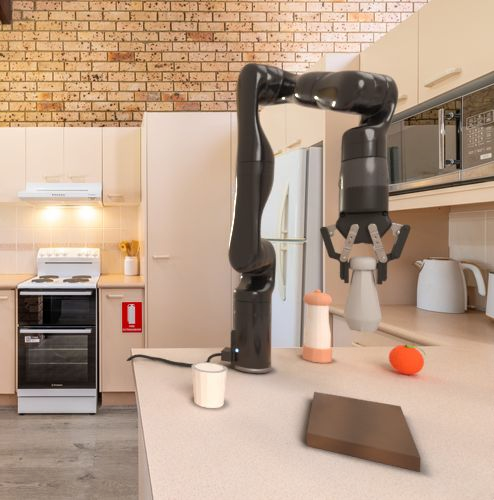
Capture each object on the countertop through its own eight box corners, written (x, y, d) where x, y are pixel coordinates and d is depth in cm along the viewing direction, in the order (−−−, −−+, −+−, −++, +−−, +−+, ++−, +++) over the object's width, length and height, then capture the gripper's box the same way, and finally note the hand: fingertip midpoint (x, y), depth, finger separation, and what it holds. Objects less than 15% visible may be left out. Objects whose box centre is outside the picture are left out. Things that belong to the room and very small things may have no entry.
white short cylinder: (227, 398, 79) (228, 363, 79) (225, 411, 72) (225, 374, 72) (193, 393, 81) (194, 360, 81) (188, 406, 75) (188, 369, 75)
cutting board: (306, 445, 60) (306, 432, 60) (314, 401, 78) (314, 391, 78) (420, 471, 53) (420, 457, 53) (400, 417, 71) (400, 406, 71)
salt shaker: (388, 334, 66) (388, 257, 66) (350, 332, 67) (351, 256, 67) (372, 327, 72) (373, 256, 72) (338, 325, 73) (339, 256, 73)
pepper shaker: (320, 364, 103) (321, 291, 103) (296, 357, 109) (297, 288, 109) (337, 360, 106) (338, 290, 106) (313, 354, 113) (314, 287, 112)
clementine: (416, 370, 98) (416, 342, 98) (435, 379, 91) (436, 349, 91) (382, 369, 99) (382, 341, 99) (399, 378, 92) (399, 347, 92)
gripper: (409, 187, 69) (408, 283, 69) (318, 192, 76) (318, 280, 76) (417, 180, 62) (416, 287, 62) (317, 187, 69) (316, 283, 69)
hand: (362, 283), depth 69 cm, fingers closed on salt shaker, 4 cm apart
